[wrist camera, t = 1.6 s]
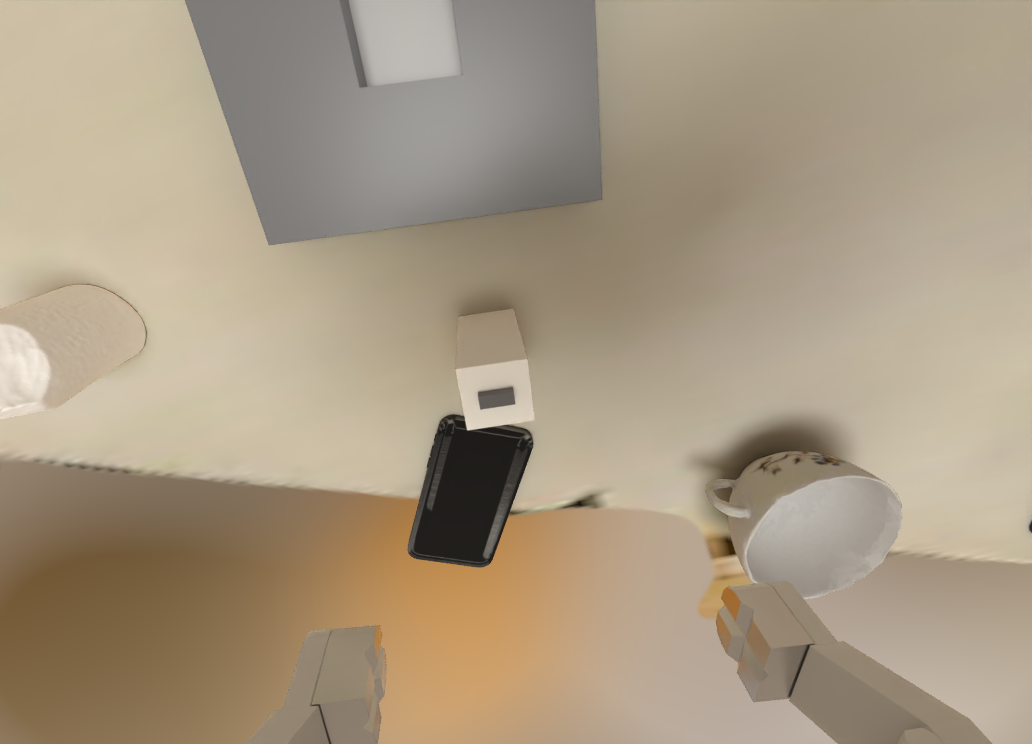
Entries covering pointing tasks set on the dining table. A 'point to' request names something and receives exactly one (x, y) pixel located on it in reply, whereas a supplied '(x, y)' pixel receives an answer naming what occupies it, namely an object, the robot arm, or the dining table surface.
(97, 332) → the white bottle
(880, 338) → the dining table surface
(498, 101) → the grey socket board
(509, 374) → the charger plug
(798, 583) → the teacup
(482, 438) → the phone
